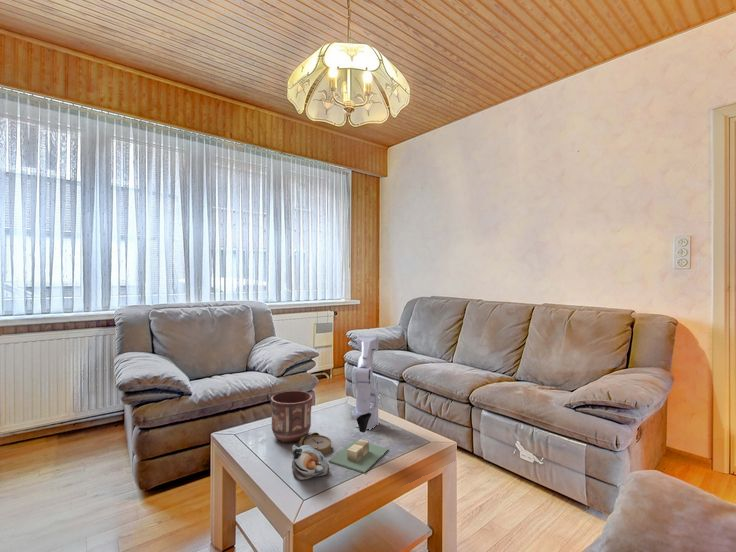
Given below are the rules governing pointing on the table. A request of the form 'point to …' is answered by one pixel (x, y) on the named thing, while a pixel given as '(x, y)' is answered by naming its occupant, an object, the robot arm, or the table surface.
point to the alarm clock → (317, 442)
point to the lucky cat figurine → (308, 462)
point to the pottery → (291, 415)
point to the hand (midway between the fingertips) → (362, 431)
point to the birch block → (358, 450)
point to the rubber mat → (364, 462)
